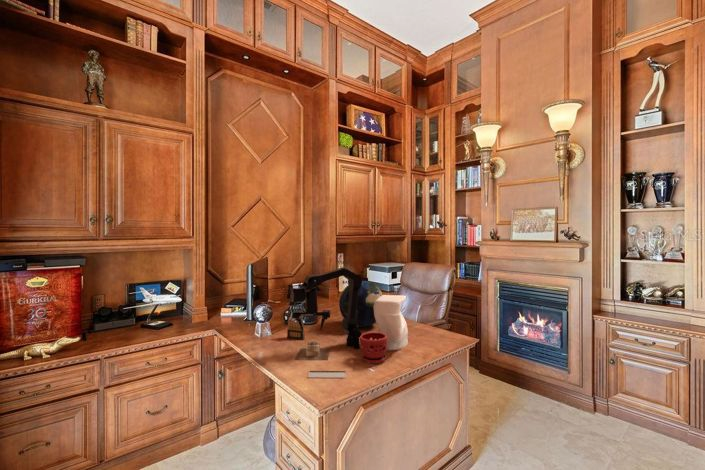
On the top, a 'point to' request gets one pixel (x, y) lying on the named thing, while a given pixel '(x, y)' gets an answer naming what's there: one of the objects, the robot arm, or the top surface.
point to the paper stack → (391, 320)
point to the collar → (313, 349)
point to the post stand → (322, 356)
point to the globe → (362, 303)
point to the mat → (326, 374)
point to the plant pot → (373, 347)
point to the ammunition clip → (295, 330)
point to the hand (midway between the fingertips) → (311, 330)
